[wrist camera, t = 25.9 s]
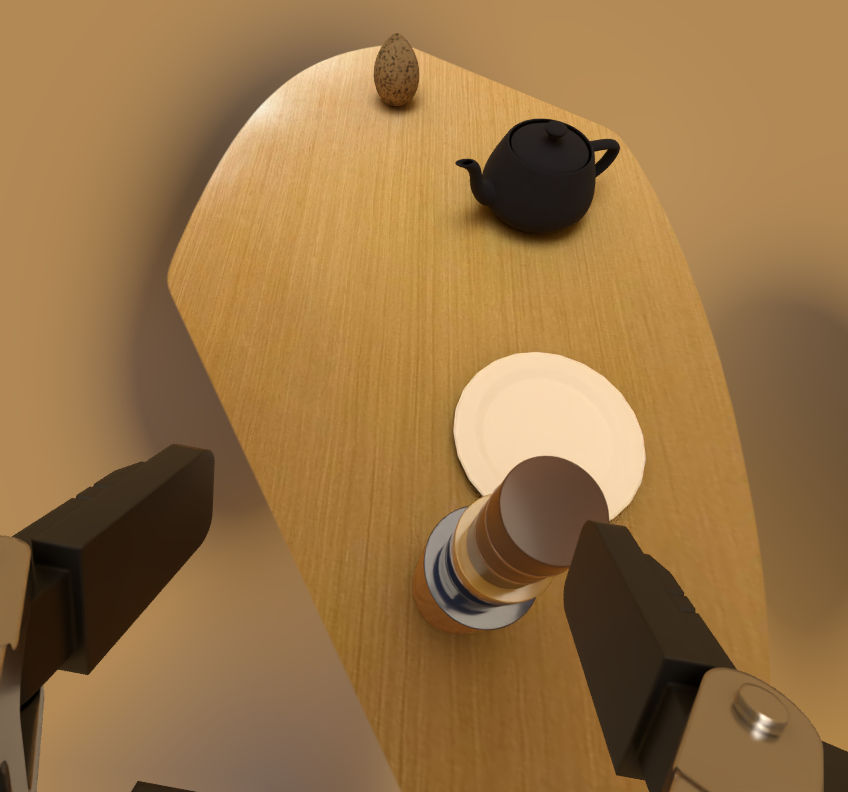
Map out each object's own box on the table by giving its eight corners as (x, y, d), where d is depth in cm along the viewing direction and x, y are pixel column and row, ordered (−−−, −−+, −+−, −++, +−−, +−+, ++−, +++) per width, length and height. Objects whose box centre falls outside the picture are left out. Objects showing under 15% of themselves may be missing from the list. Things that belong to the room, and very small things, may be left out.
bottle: (416, 638, 42) (443, 635, 23) (408, 545, 45) (426, 478, 27) (503, 628, 43) (597, 618, 24) (489, 538, 46) (561, 469, 28)
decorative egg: (366, 106, 77) (364, 37, 68) (386, 85, 80) (387, 16, 71) (405, 121, 76) (408, 53, 67) (424, 99, 79) (429, 31, 70)
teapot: (571, 159, 75) (603, 78, 64) (624, 227, 68) (669, 149, 58) (425, 189, 69) (434, 104, 58) (468, 266, 63) (486, 187, 52)
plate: (635, 560, 46) (644, 557, 45) (431, 504, 47) (433, 500, 46) (641, 383, 56) (649, 376, 55) (472, 340, 57) (474, 332, 56)
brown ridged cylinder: (448, 540, 25) (473, 500, 18) (506, 488, 27) (550, 433, 20) (507, 609, 24) (559, 596, 17) (564, 550, 26) (634, 515, 18)
